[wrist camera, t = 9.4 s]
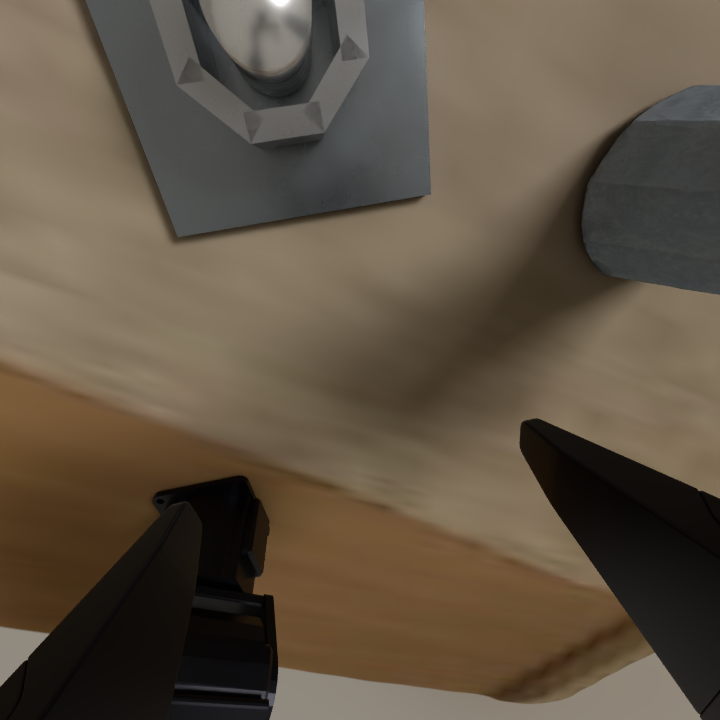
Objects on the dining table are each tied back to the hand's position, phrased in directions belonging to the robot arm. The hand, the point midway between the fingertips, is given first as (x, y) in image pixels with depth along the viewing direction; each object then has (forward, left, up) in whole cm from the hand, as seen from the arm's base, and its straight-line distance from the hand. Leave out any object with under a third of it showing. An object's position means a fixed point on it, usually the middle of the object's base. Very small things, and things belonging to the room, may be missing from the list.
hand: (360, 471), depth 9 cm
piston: (0, +11, -12) cm, 16 cm away
